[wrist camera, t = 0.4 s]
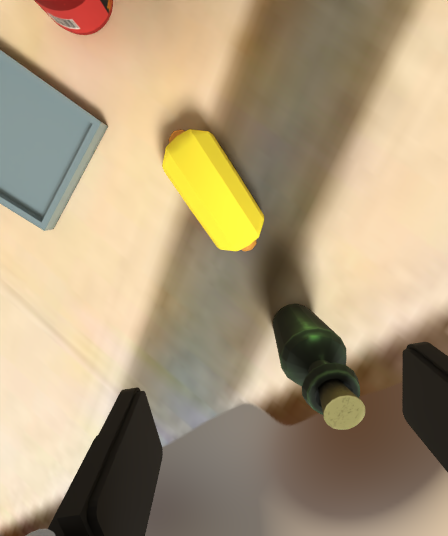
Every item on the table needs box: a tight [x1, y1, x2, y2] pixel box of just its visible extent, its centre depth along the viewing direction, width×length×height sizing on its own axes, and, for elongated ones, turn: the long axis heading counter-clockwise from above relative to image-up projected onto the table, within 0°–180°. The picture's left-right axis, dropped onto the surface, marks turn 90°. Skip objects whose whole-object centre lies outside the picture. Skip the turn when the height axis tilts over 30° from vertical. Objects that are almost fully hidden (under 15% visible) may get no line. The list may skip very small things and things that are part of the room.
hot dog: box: [162, 129, 264, 251], centre depth 34 cm, size 18×7×8 cm
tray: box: [0, 50, 108, 231], centre depth 34 cm, size 16×16×2 cm
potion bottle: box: [273, 304, 365, 430], centre depth 33 cm, size 8×8×18 cm
